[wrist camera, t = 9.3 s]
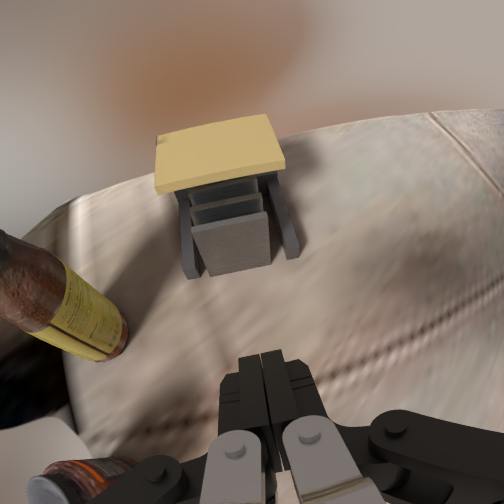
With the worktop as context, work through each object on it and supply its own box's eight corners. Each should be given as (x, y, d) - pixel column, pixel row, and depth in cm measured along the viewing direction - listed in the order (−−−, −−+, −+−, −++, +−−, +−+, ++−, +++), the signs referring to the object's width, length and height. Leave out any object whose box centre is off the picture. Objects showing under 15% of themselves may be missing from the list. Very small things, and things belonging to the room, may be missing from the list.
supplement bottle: (94, 455, 21) (8, 452, 11) (150, 456, 21) (74, 464, 11) (105, 510, 18) (25, 532, 8) (163, 515, 18) (96, 554, 8)
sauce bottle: (115, 295, 29) (-9, 153, 13) (142, 342, 27) (-12, 208, 10) (70, 329, 28) (-70, 217, 11) (92, 378, 25) (-80, 286, 8)
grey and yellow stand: (275, 184, 35) (272, 112, 27) (298, 257, 30) (304, 185, 22) (181, 203, 35) (156, 136, 27) (187, 279, 30) (152, 216, 21)
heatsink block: (253, 197, 35) (247, 146, 28) (270, 265, 30) (267, 217, 24) (201, 208, 35) (185, 159, 28) (210, 277, 30) (191, 233, 24)
